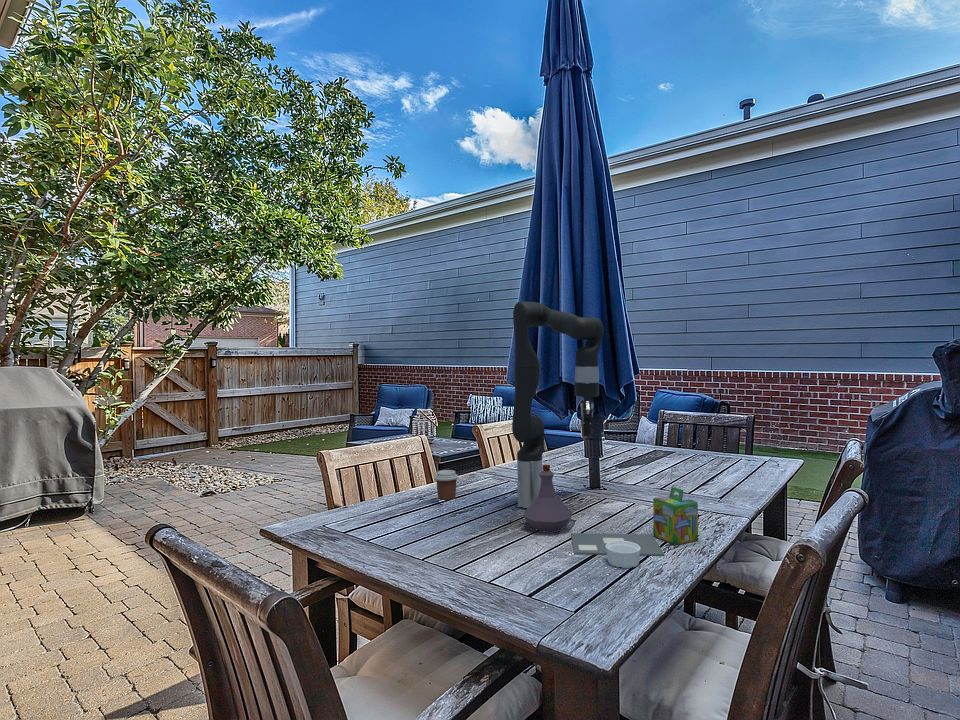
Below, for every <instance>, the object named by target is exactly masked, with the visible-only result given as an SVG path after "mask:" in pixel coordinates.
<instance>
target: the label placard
mask: <svg viewBox="0 0 960 720" xmlns="http://www.w3.org/2000/svg"><path fill="white" fill-rule="evenodd" d="M570 535H571V542H572V548H573V553H574V555H595V556H596V555H601V556H602V555H604V556H605V555H606V556H607V550H606V547H605V546H606V544H607V543H609V542H612V541H629V542H633V543H636V544H638V545H639V546H640V554H639V556H642V557H643V556H646V557H647V556H652V557H656V556H657V557H665V555H666V554H665V553H664V552H663V550H662V548H661V547H660V545H659V543H658V542H657V539H656V538H655V536H653V533H652V534H651V533H650V534H649V533H648V534H646V533H597V532H596V533H593V532H591V533H587V532H586V533H584V532H580V533H579V532H571V533H570Z"/></svg>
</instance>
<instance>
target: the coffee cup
mask: <svg viewBox="0 0 960 720" xmlns="http://www.w3.org/2000/svg"><path fill="white" fill-rule="evenodd" d="M433 478H434V480H435V481H436V482H435V483H436V489H437V491H436V492H437V500H438V499H440V500H445V501H446V500H453V499H455V500H456V498H457V497H456V495H457V494H456V493H457V479H459V475H458V474H457V473H456V470H451V469H441V470H438V471H437V472H436V475H434V477H433Z"/></svg>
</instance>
